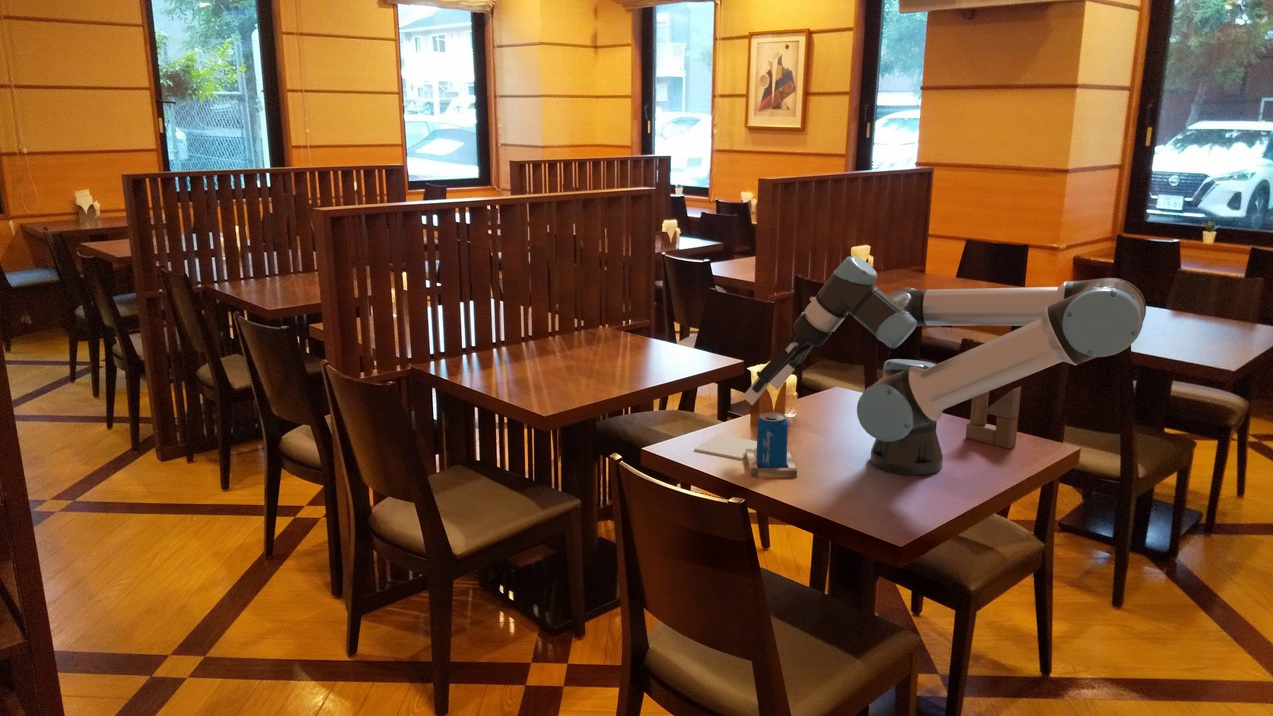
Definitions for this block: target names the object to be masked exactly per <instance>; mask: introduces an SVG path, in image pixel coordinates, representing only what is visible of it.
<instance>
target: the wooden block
mask: <svg viewBox="0 0 1273 716" xmlns="http://www.w3.org/2000/svg"><path fill="white" fill-rule="evenodd" d="M1021 391H1022V386H1019V387H1016V388H1013V389H1012V390H1011V391H1009V392H1008V393H1006V394H1005V395H1004V396H1002V397H1001V398H1000V399H998V400H997V401H995V402H994V403H992V404H991V405H989V395H990V391H988V392H986V393H983V394H981V395H978V396H976V397H973V398H971V408H970V418H969V419H970V422H968V423H966V430H965V438H966V439H971V440H973V441H978V442H980V443H981V442H982V443H985V444H988V445H994V446H996V447H1000V448H1003V449H1007V450H1008V449H1011V448H1013V447H1016V444H1017V434H1018V423H1019V414H1020V413H1019V412H1020V403H1021V393H1022V392H1021ZM988 415H992V416H995V417H996V419H995V421H996V422H995V425H993V424H989V423H987V420H988V419H987V417H988Z"/></svg>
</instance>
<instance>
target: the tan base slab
mask: <svg viewBox="0 0 1273 716" xmlns="http://www.w3.org/2000/svg"><path fill="white" fill-rule="evenodd" d="M745 458H746V461H747V462H746V463H747V466H748V470H749V474H750V477H751V478H798V470H797V467H796V465H795V462H794V460H793V456H792V454H791V452H790V449H789V448H787V467H786V468H758V467H757V459H756V457H755V453H754V452H753V449H746V457H745Z"/></svg>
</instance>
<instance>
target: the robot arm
mask: <svg viewBox="0 0 1273 716" xmlns="http://www.w3.org/2000/svg"><path fill="white" fill-rule="evenodd" d="M877 278H878V273H877V271H876V270H875V269H874V268H873V266H872V265H871V264H869V263H868V262H866V260H864V259H862V258H860V257H858V256H854V255H852V256H847V257H846V258H845V259H844V260H843V261H842V262H841V263H840V264H839V266H838V267H837V268H835V269H834V270H833V271H832V274H831V275H830V276H829V278H828V279H827V281H826V282H825V283H824V284H823V286H821V288H820V290H819V291H818V292H817V294H816V295H815V296H811V297H810V298H809V300H810V303H809V304H808V305H807V306H806V308H805V309H804V311H803V312H801V314H800V315H799V316H798V317H797V319H796V320H795V321H794V323H793V330H794V331H795V332H796V335H795V336H792V337H791V338H790V339H789V340H787V341H786V342H785V344H784V345H783V346H782V347H781V349H780V350H779V351H778V352H777V353H776V354H775V355H774V356H773V357H772V358H771V360H769V362H768V363H767V364H766V365H764V367H763V368H762V369H761V370H760V371H759V370H757V371H756V376H757V378H756V379H755V381H754V382H753V383H752V384H751V385H750V387H749V388H748V389H747V390H746V391H745V393H744V394H743V396H742V398H743V399H744V400H745V401H747V403H749V404H750V405H751V406H753V405H754V404H755V403H756V402H757V400H758V399H759V398H760V397H761V396H762V394H764V392H765V391H766V389H767V388H768V387H769V386H770V385H771V386H772V387H773V388H774V389H775V390H776V391H778V390H779V389H780V388H781V387H782V386H783V384H784V383H785V382H786V381H787V379H788V378H790V376H791V375H792V373H794V371H795V370H797V371H799V370H800V369H801V368H802V365H801V364H803V363H804V361H805V359H806V358H807V356H808V354H809V353H810V352H811V350H812V348H813V347H822V346H823V345H824V344H825V343H826V342H827V340H828V339H829V338H830V337H831V335H832V332H833V333H834V332H835V331H836V330H837V328H838V327H839V326H840V325H841V323H843V321H844V320H845V319H846V317H847V316H848V314H849V315H851V316H852V317H853V318H854V319H855V320H857V321H858V322H859V323H860V324H861V325H862V326H863V327H864V328H866V329H867V330H868V331H869V332H870V333H871V334H872V335H873V336H875V337H876V338H877V340H878V341H880V342H882V343H883V344H885V346H887V347H889V348H891V349H896V348H898V347H899V346H900V345H902V343H904V342H905V340H907V338H908V337H909V336H910V335H911V334H912V333H913V332H914V331H915V329H916V327H923V326H925V327H929V326H940V327H941V326H944V327H945V326H946V327H947V326H952V327H953V326H955V327H956V326H960V327H961V326H967V327H968V326H969V327H971V326H972V327H973V326H974V327H976V326H978V327H979V326H981V327H982V326H983V327H985V326H986V327H987V326H988V327H992V326H993V327H995V326H996V327H997V326H998V327H999V326H1000V327H1002V326H1003V327H1008V326H1009V327H1010V326H1012V327H1013V326H1014V327H1015V326H1016V327H1019V326H1020V327H1019V328H1016V329H1014V330H1012V331H1010V332H1008V333H1005V334H1003V335H1001V336H999V337H996V338H994V339H992V340H990V341H987V342H985V343H982V344H980V345H978V346H976V347H973V348H971V349H968V350H967V351H964V352H961V353H959V354H957V355H955V356H953V357H951V358H948V359H946V360H944V361H941V362H939V363H932V362H929V361H923V360H918V359H917V360H916V359H907V358H906V359H905V358H904V359H902V358H894V359H893V358H892V359H887V360H886V361H885V362H884V363H883V368H882V374H883V375H882V377H881V378H880V379H879V380H878V381H876V382H875V383H873V384H871V385H869V386H868V387H867V388H866V389H864V391H863V392H862V394H861V395H860V397H859V398H858V401H857V405H856V415H857V419H858V422H859V424H860V426H861V428H862V429H863V430H864V431H865V433H867V434H868V435H869V436H871V437H872V438H874V439H875V440H874V441H873V445H872V447H871V449H870V458H869V459H870V463H871V464H872V465H873V466H874V467H876V468H878V469H879V470H882V471H886V472H888V473H894V474H899V475H906V476H907V475H908V476H921V475H922V476H923V475H930V474H934V473H937V472H939V471H940V470H941V469H942V467H943V462H944V458H943V452H942V449H941V445H940V442H939V438H938V437H939V436H938V433H937V423H938V421H939V420H940V419H941V416H942V415H943V412H944V410H946V409H948V408H951V407H953V406H954V407H955V406H956V405H958V404H960V403H962V402H966V401H968V400H972V398H973V397H976V396H978V395H981V394H983V393H986V392H988V391H989V392H990V391H993V390H995V389H998V388H1000V387H1003V386H1005V385H1007V384H1010V383H1012V382H1015V381H1019V380H1021V379H1023V378H1025V377H1028V376H1030V375H1032V374H1035V373H1037V372H1040V371H1043V370H1044V369H1047V368H1049V367H1052V366H1054V365H1056V364H1060V363H1062V362H1064V363H1068V364H1071V365H1074V366H1077V365H1081V364H1083V363H1085V362H1089V361H1090V360H1093V359H1095V358H1101V357H1102V358H1103V357H1109V356H1114V355H1118V354H1119V353H1122V352H1123V351H1125V350H1127V349H1128V348H1129V347H1130V346H1132V344H1133V343H1135V341H1136V340H1137V339H1138V337H1139V336H1140V334H1141V331H1142V329H1143V327H1144V326H1143V324H1144V321H1145V318H1146V315H1147V313H1146V312H1147V304H1146V300H1145V298H1144V295H1143V293H1142V292H1141V291H1140V289H1139V288H1137V286H1135V285H1134V284H1133V283H1131V282H1129V281H1127V280H1124V279H1122V278H1118V277H1116V278H1115V277H1104V278H1095V279H1086V280H1069V281H1068V280H1067V281H1063V282H1062V284H1060V285H1059V286H1040V287H1039V286H1038V287H1037V286H1036V287H1034V286H1033V287H1030V286H1029V287H999V288H998V287H997V288H995V287H993V288H991V287H990V288H989V287H988V288H985V287H984V288H953V289H952V288H951V289H949V288H946V289H916V288H912V287H905V288H904V287H903V288H900V289H897V290H895V291H893V292H892V293H890V294H889V295H887V294H886V293H885V292H883V291H882V290H881V289H880V288H879V287H878V286H877V285H876V284H875V283H876V280H878V279H877Z"/></svg>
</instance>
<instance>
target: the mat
mask: <svg viewBox="0 0 1273 716" xmlns="http://www.w3.org/2000/svg"><path fill="white" fill-rule="evenodd" d="M693 449H694V452H699V453H704V454H710V455H714V456H719V457H725V458H730V459H735V460H740V461H742V460H744V459H745V458H746V449H753V453H754V452H755V451H757V450H756V449H757V440H754V439H753V440H752V439H745V438H741V437H734V436H729V435H724V434H719V433H718V434H716V435H715V436H713V437H711V438H710V439H708V440H706V441H705V442H703V443H702V444H700V445H698V446H696V447H695V448H693Z"/></svg>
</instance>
